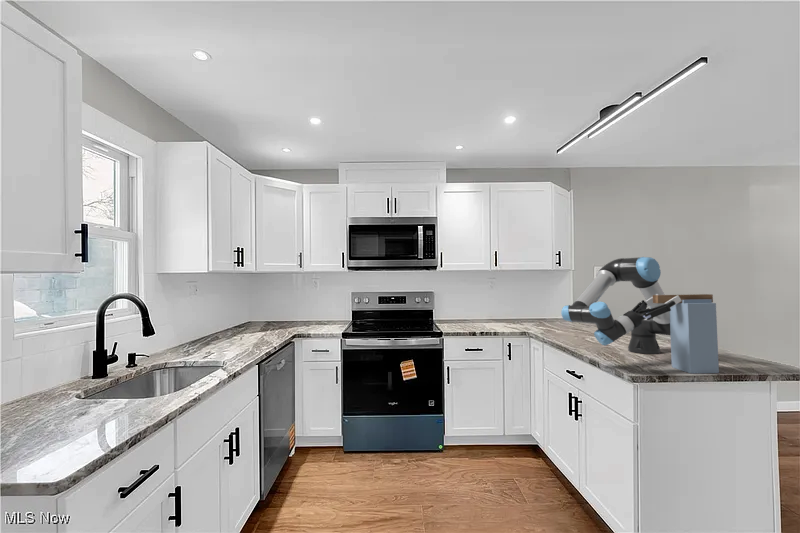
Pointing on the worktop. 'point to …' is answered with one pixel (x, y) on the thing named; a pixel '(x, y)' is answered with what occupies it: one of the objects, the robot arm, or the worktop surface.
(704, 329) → the tall blue prism
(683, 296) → the brown block
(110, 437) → the worktop surface
